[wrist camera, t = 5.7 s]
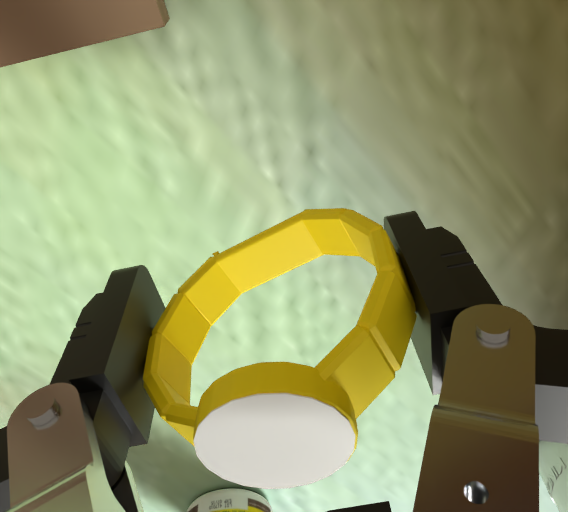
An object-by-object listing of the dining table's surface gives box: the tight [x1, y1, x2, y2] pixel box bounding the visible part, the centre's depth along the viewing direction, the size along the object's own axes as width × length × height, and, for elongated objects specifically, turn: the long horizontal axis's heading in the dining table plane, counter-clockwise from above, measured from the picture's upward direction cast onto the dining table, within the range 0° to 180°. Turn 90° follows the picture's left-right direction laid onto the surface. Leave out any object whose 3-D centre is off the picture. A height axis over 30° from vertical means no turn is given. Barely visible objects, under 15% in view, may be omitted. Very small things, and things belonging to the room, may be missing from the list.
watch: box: [143, 208, 417, 489], centre depth 10 cm, size 6×3×6 cm, turn 119°
